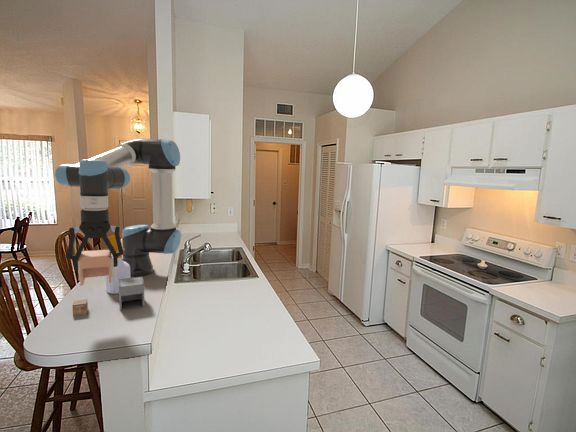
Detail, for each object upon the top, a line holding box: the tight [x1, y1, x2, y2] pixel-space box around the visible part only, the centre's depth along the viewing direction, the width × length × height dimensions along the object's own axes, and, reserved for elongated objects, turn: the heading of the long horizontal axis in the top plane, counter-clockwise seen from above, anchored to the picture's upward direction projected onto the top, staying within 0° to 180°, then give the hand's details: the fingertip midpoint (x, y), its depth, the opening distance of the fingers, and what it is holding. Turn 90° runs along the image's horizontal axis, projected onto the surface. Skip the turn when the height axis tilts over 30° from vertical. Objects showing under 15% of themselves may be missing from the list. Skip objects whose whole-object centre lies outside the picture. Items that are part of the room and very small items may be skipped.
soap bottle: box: [105, 232, 132, 295], centre depth 128 cm, size 9×9×25 cm
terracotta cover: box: [79, 248, 112, 287], centre depth 100 cm, size 8×8×9 cm
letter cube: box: [71, 298, 89, 316], centre depth 109 cm, size 4×4×4 cm
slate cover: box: [118, 276, 145, 311], centre depth 117 cm, size 8×8×9 cm
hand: (96, 277), depth 101 cm, fingers closed on terracotta cover, 8 cm apart
